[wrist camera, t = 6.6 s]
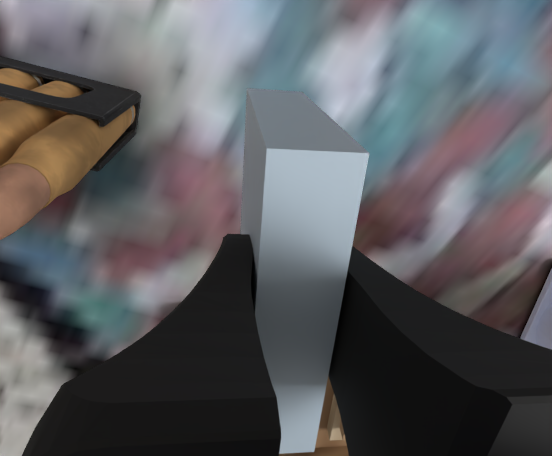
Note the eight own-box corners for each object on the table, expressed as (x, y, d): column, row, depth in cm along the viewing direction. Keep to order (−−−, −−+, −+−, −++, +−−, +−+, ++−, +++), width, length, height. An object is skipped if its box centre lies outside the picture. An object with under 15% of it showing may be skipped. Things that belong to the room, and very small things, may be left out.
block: (302, 91, 13) (369, 152, 7) (281, 293, 17) (313, 452, 11) (246, 88, 13) (266, 148, 7) (237, 293, 17) (245, 455, 10)
